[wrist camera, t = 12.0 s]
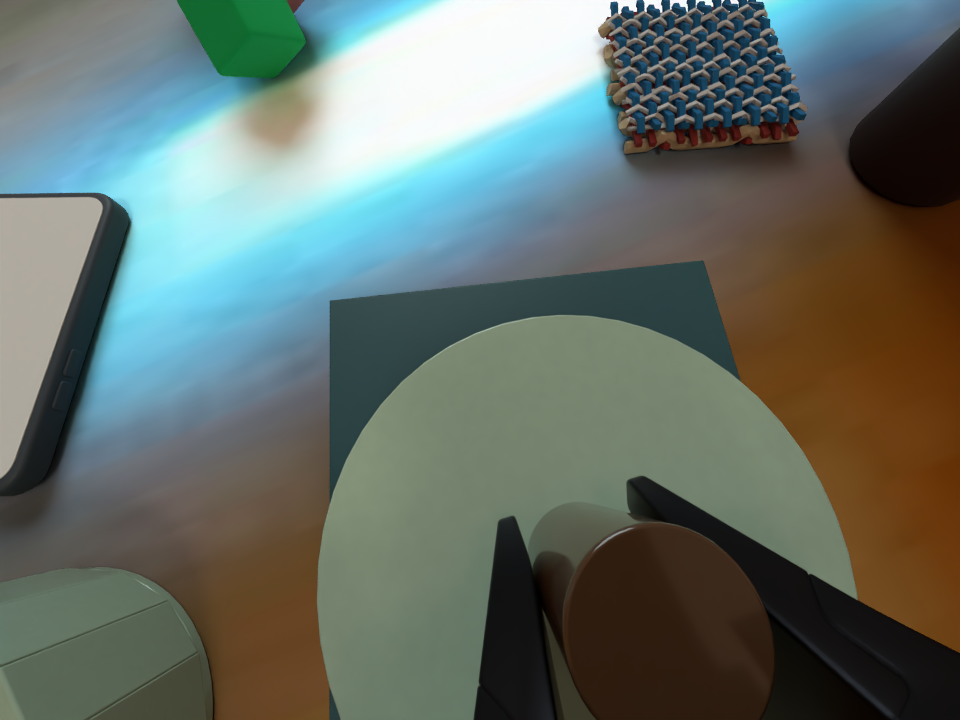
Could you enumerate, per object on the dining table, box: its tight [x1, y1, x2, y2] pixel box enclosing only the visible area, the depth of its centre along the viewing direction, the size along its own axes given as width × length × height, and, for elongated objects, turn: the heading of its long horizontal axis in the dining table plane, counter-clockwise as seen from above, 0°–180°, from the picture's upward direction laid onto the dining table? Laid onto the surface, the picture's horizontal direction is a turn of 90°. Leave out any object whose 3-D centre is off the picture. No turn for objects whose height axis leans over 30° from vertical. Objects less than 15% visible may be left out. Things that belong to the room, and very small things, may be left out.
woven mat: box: [598, 0, 807, 154], centre depth 23 cm, size 10×11×2 cm
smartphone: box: [0, 193, 129, 496], centre depth 20 cm, size 9×2×16 cm
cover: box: [317, 315, 858, 720], centre depth 8 cm, size 14×14×6 cm
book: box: [330, 260, 741, 720], centre depth 16 cm, size 20×16×4 cm
